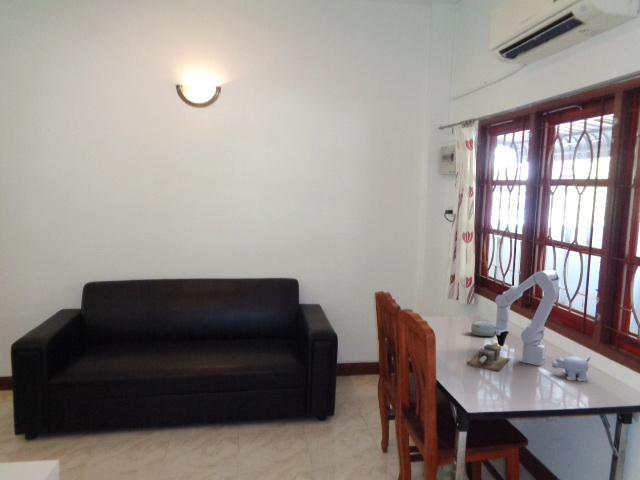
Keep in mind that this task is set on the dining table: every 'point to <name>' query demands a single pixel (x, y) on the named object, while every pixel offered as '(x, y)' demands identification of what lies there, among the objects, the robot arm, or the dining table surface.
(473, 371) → the dining table surface
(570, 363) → the hippopotamus toy
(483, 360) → the shaft
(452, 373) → the dining table surface
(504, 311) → the robot arm
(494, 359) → the bearing frame
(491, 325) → the pale green pouf
